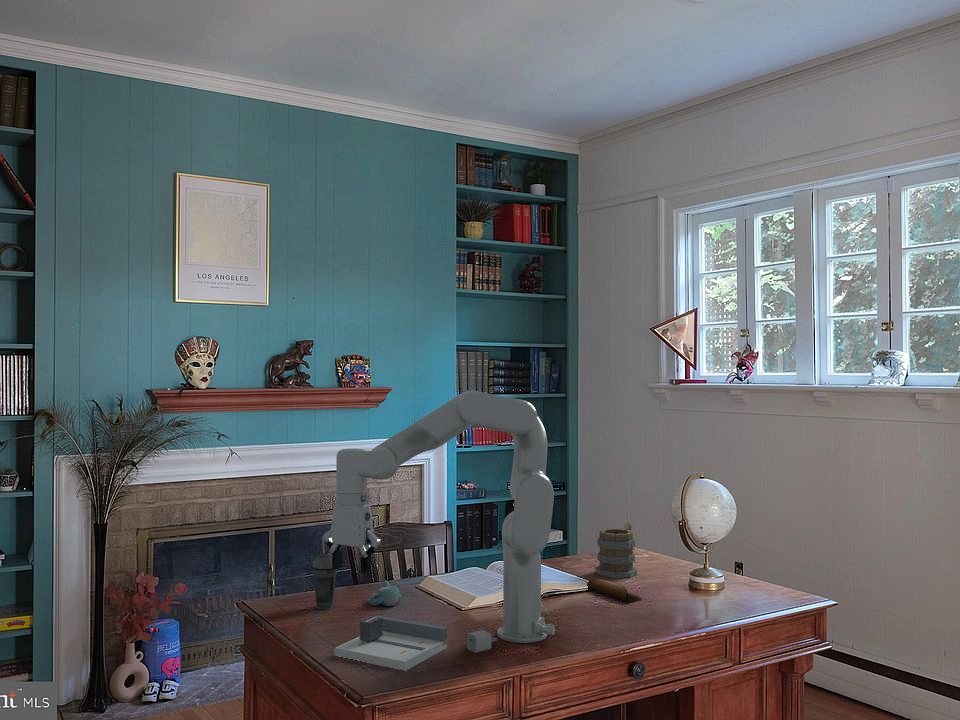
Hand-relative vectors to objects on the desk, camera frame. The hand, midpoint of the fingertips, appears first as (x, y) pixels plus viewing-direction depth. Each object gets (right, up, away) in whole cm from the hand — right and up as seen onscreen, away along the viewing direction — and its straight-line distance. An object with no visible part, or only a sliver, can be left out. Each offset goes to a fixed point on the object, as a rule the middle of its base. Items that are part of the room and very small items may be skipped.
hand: (351, 570), depth 207 cm
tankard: (+79, -19, +75) cm, 111 cm away
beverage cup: (-12, -19, +31) cm, 39 cm away
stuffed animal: (+4, -19, +36) cm, 41 cm away
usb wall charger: (+33, -18, -3) cm, 37 cm away
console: (+11, -18, -6) cm, 22 cm away
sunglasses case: (+72, -19, +46) cm, 88 cm away
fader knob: (+5, -16, -3) cm, 17 cm away
